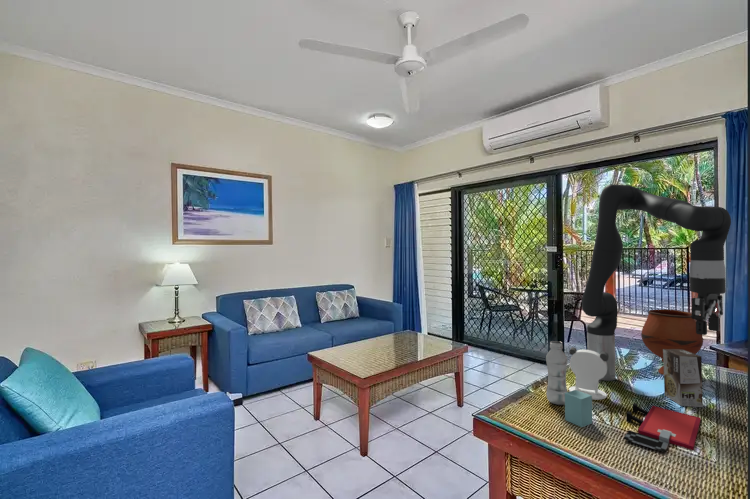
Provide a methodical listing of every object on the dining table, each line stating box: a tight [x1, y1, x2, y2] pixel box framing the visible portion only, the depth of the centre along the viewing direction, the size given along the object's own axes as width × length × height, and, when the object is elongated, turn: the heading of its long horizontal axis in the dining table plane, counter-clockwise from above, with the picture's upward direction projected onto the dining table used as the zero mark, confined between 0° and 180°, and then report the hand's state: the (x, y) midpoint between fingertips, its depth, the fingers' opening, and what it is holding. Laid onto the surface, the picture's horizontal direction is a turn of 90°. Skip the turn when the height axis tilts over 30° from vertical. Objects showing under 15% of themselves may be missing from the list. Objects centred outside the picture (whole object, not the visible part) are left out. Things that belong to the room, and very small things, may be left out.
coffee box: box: [662, 349, 704, 408], centre depth 116 cm, size 9×6×16 cm
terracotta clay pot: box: [640, 309, 704, 376], centre depth 141 cm, size 19×19×25 cm
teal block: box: [564, 390, 593, 428], centre depth 104 cm, size 5×5×8 cm
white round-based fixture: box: [568, 346, 609, 401], centre depth 124 cm, size 12×11×15 cm
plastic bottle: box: [545, 340, 568, 406], centre depth 116 cm, size 6×7×20 cm
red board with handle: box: [623, 402, 702, 453], centre depth 99 cm, size 30×3×15 cm
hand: (707, 332), depth 101 cm, fingers open, 8 cm apart
